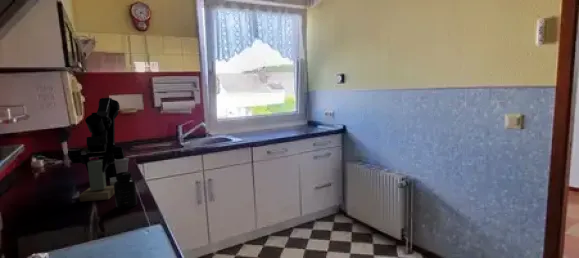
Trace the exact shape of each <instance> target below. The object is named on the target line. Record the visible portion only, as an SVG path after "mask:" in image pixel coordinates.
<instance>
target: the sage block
mask: <svg viewBox="0 0 579 258" xmlns="http://www.w3.org/2000/svg"><path fill="white" fill-rule="evenodd" d="M89 160H90V159H89ZM103 162H104V161H103V159H100V160H99V159H93V160H90V161H89V162H88V163H87V164H88V171H87V174H88V173H89V174H88V181H89V188H90V190H91V191H94V190H102V189H105V187H106V186H107V179H105V172H104V173H103V172H102V168H103Z"/></svg>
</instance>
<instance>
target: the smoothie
mask: <svg viewBox="0 0 579 258" xmlns="http://www.w3.org/2000/svg"><path fill="white" fill-rule="evenodd" d="M129 161H130V158H129V157H124V159H117V160H116V159H115V161H114V162H115V168H116V173H117V174H118V173H121V172H128V169H129Z"/></svg>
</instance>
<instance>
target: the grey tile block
mask: <svg viewBox="0 0 579 258" xmlns="http://www.w3.org/2000/svg"><path fill="white" fill-rule="evenodd" d="M131 179H133V178H132V177H131ZM116 181H117V180H116V177H113V178H110V179H109V186H114V183H115V182H116Z"/></svg>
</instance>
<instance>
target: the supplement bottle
mask: <svg viewBox="0 0 579 258" xmlns="http://www.w3.org/2000/svg"><path fill="white" fill-rule="evenodd" d="M131 178H132V173H131V172H130V171H127V172H121V173H118V174H116V180H117V181H116V182H115V183H114V193H115V194H114V198H115V199H114V200H115V207H116V208H117V209H118V210H125V209H132V208H133V207H136V206H137V204H138V199H137V188H136V182H135V180H134V179H133V178H132V179H131Z"/></svg>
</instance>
